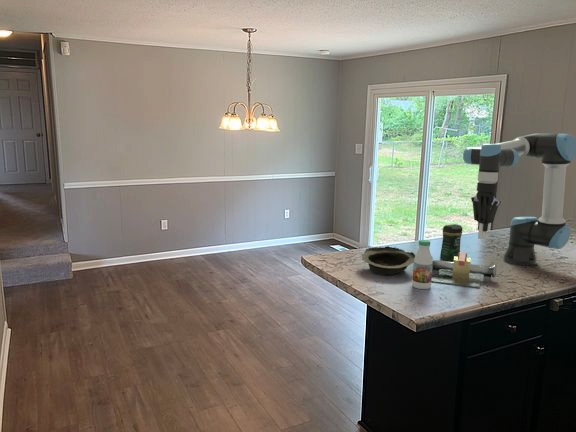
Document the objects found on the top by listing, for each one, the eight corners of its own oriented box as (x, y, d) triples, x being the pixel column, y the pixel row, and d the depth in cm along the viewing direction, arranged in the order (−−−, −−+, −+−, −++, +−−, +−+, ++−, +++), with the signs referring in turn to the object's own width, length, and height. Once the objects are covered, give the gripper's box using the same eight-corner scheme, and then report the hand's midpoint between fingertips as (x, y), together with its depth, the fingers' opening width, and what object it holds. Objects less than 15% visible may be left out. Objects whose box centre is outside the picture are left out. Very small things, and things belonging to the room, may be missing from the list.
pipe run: (493, 275, 214) (495, 257, 213) (495, 290, 194) (497, 270, 193) (421, 266, 226) (423, 249, 224) (416, 280, 206) (417, 261, 204)
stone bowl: (399, 261, 233) (401, 244, 231) (423, 281, 210) (426, 262, 207) (352, 263, 228) (354, 245, 226) (372, 283, 204) (374, 263, 202)
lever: (458, 257, 212) (458, 251, 211) (466, 258, 210) (467, 252, 210) (456, 266, 197) (457, 260, 197) (465, 267, 196) (466, 261, 196)
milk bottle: (409, 283, 201) (412, 238, 197) (426, 283, 202) (430, 238, 198) (415, 289, 193) (419, 243, 190) (433, 289, 194) (437, 243, 190)
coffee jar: (450, 263, 232) (453, 227, 229) (437, 259, 239) (440, 224, 235) (462, 260, 237) (465, 225, 234) (449, 257, 244) (452, 222, 240)
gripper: (507, 183, 186) (501, 241, 191) (480, 180, 197) (475, 234, 202) (494, 184, 183) (488, 242, 187) (468, 180, 194) (462, 236, 198)
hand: (481, 238), depth 194 cm, fingers closed
